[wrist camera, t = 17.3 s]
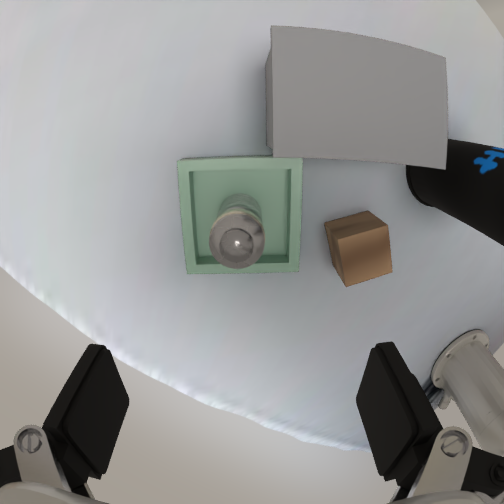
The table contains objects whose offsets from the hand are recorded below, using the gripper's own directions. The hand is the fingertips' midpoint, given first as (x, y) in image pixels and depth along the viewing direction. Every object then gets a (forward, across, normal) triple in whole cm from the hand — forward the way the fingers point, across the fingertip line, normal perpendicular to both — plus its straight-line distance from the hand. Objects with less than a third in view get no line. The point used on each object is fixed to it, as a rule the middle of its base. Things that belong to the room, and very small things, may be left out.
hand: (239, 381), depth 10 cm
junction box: (+22, -8, -11) cm, 25 cm away
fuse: (+21, 0, 0) cm, 21 cm away
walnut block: (+22, -11, +3) cm, 25 cm away
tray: (+22, 0, 0) cm, 22 cm away
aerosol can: (+22, -21, -5) cm, 31 cm away
